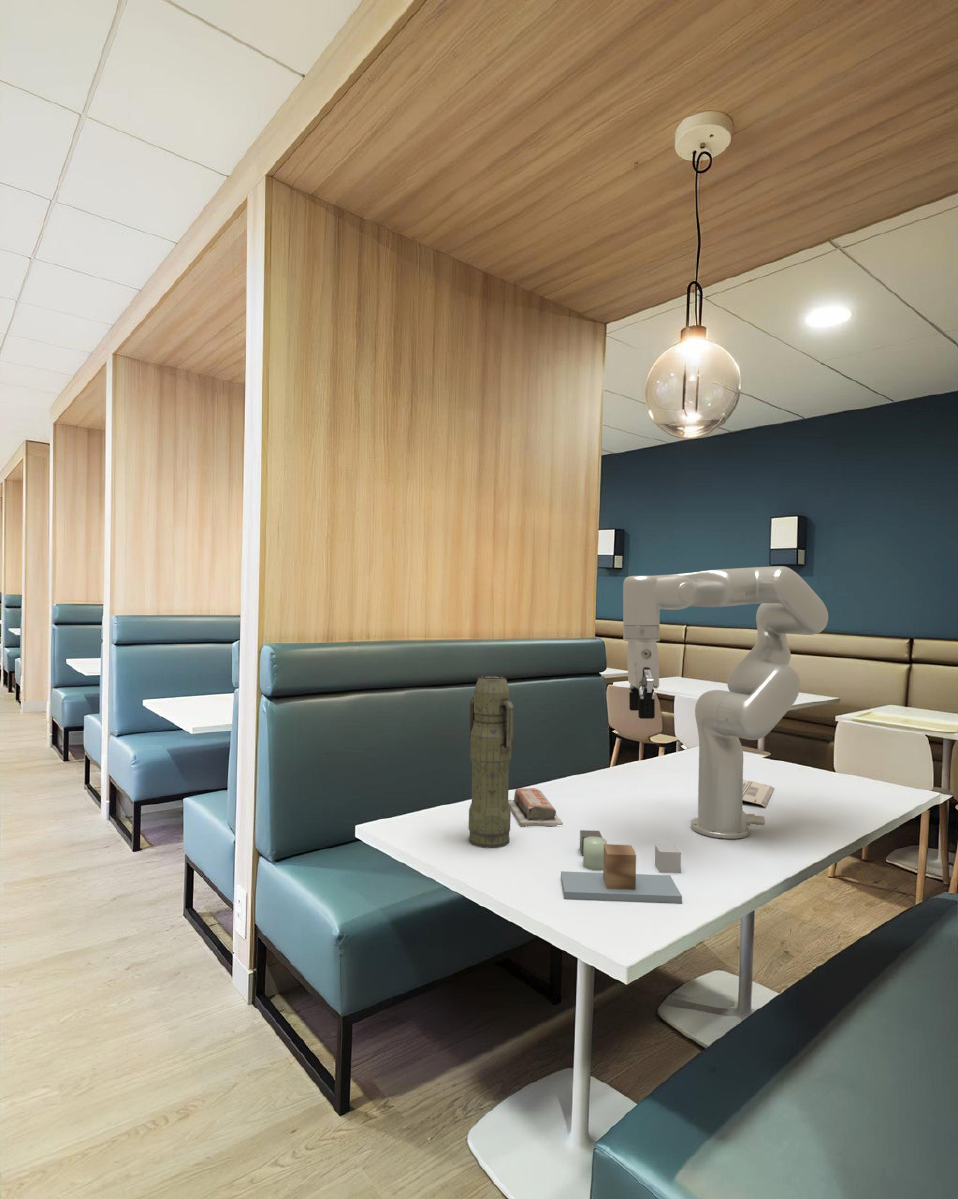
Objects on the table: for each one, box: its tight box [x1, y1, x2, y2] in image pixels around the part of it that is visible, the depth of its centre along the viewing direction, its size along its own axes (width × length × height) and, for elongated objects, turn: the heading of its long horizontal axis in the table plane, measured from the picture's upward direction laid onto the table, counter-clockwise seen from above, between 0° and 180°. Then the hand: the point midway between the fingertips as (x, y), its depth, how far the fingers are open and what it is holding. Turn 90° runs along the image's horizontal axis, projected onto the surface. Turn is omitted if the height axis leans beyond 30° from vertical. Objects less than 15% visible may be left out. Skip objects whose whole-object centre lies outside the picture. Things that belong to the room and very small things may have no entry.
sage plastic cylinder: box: [582, 836, 608, 871], centre depth 134 cm, size 4×4×5 cm
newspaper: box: [742, 779, 775, 809], centre depth 186 cm, size 23×12×2 cm, turn 151°
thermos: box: [468, 675, 515, 849], centre depth 147 cm, size 9×12×35 cm
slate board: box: [560, 870, 683, 904], centre depth 123 cm, size 20×9×1 cm, turn 87°
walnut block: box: [602, 843, 637, 890], centre depth 123 cm, size 5×5×6 cm
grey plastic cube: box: [654, 844, 682, 874], centre depth 133 cm, size 4×4×4 cm
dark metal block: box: [579, 829, 603, 857], centre depth 141 cm, size 4×4×4 cm
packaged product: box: [508, 787, 564, 828], centre depth 165 cm, size 18×5×10 cm
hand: (641, 714), depth 146 cm, fingers open, 9 cm apart
